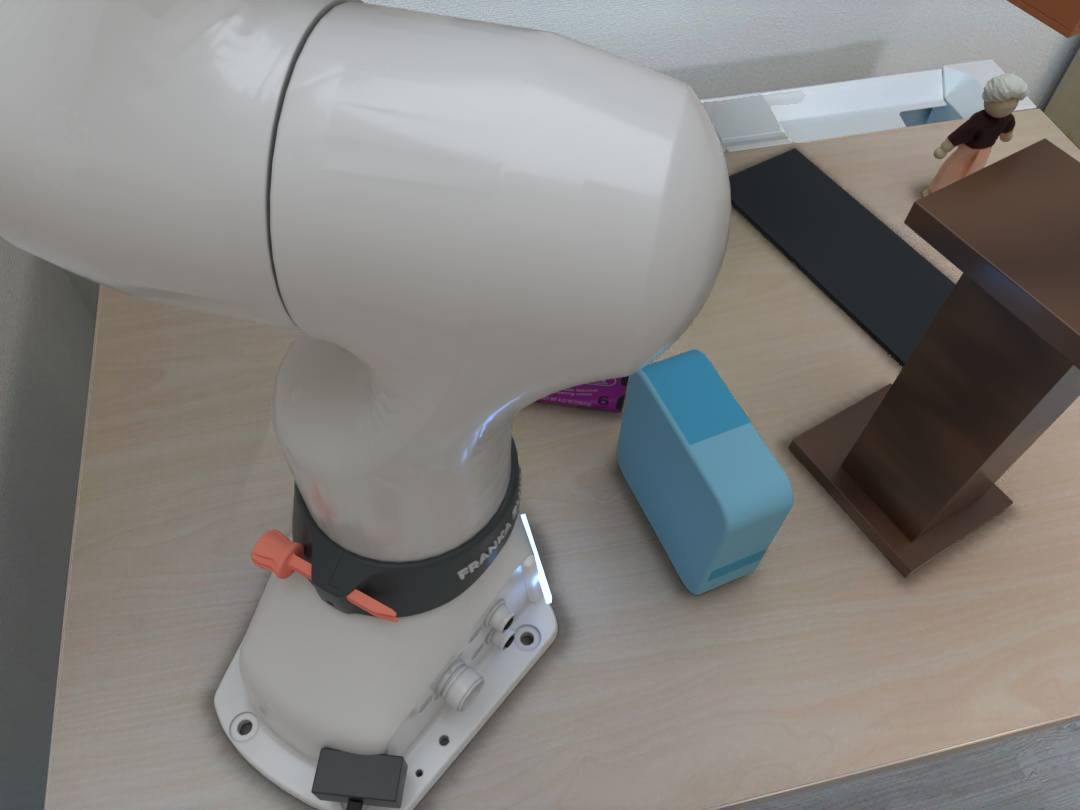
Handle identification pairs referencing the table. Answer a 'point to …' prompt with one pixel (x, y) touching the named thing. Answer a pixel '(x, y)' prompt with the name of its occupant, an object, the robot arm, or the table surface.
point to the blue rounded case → (700, 471)
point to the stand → (967, 364)
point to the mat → (843, 249)
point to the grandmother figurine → (980, 131)
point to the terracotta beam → (1054, 14)
